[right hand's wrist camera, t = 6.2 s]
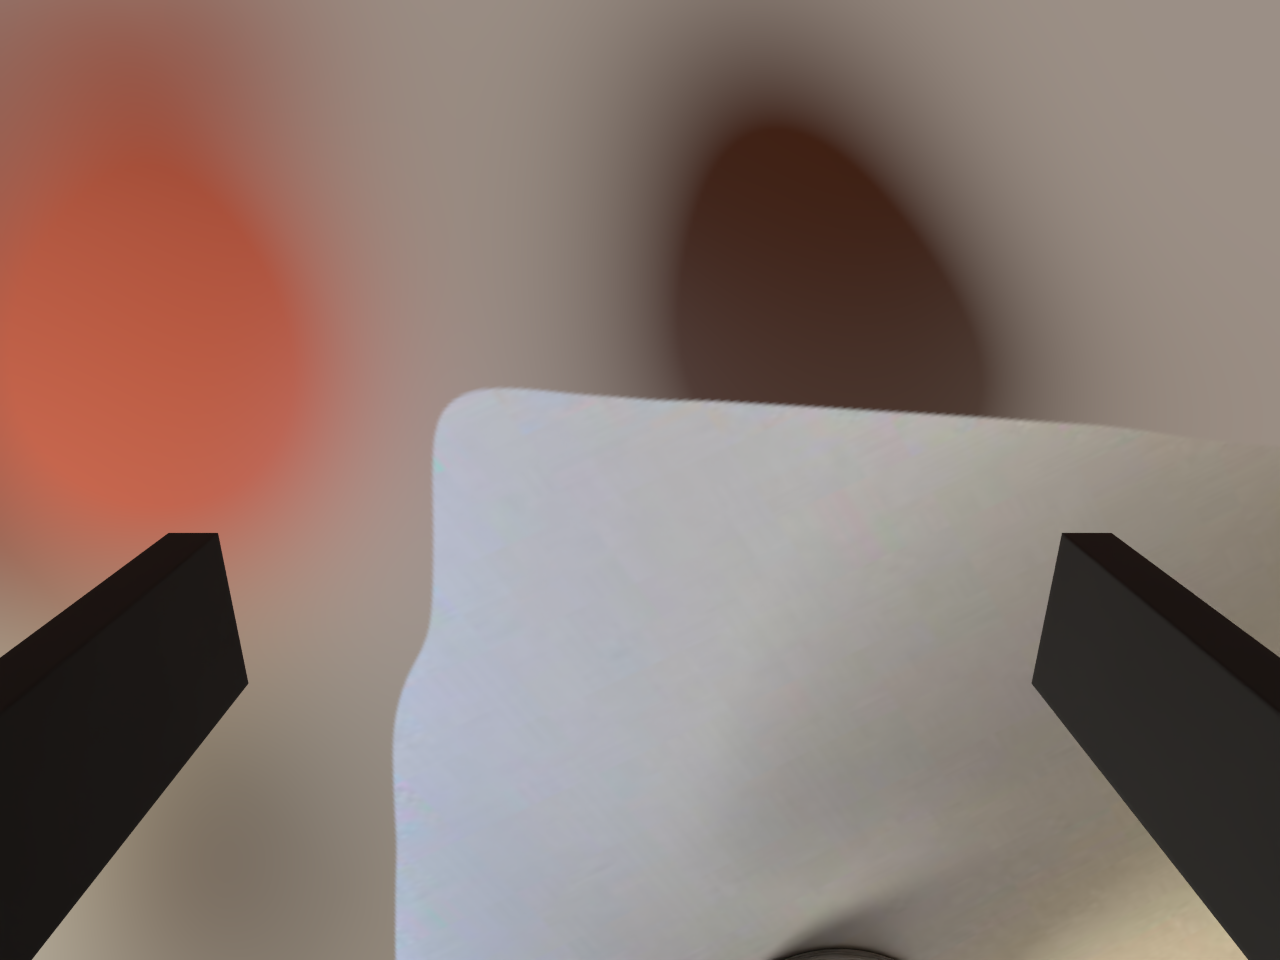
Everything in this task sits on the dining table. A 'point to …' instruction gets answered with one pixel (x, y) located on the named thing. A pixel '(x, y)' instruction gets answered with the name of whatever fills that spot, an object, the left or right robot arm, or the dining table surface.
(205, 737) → the right robot arm
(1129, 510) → the dining table surface
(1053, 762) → the dining table surface
